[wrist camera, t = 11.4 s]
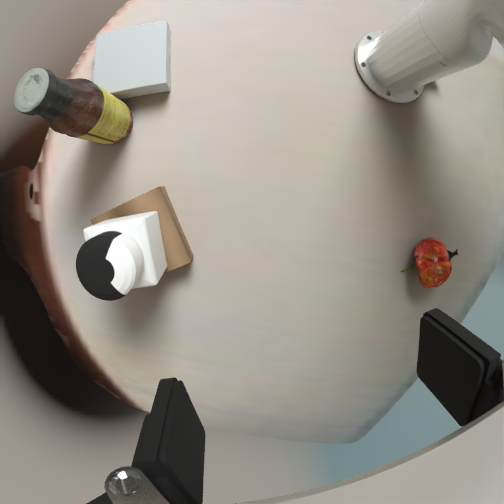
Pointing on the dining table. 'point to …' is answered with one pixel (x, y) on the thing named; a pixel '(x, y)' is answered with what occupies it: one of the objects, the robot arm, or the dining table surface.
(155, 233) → the medicine bottle
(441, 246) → the pomegranate
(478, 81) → the dining table surface
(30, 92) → the sauce bottle
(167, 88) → the grey block
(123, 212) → the walnut block
